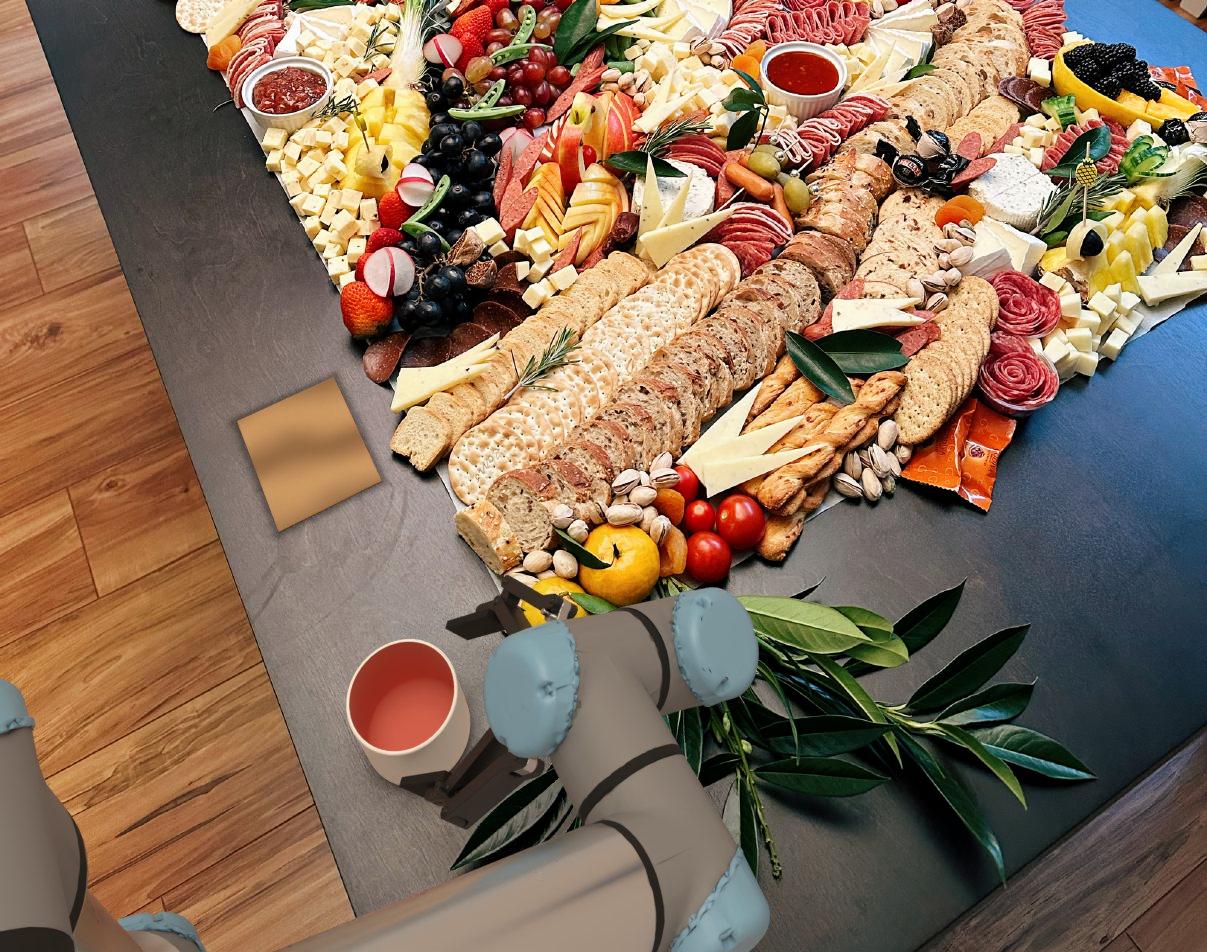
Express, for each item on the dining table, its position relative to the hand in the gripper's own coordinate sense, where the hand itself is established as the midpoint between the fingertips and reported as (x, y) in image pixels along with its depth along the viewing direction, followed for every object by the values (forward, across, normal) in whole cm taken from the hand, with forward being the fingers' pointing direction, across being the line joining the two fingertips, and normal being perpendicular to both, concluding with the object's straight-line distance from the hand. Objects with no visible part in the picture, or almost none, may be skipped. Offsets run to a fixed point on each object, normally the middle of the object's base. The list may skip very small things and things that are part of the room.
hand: (435, 705), depth 103 cm
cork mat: (+24, +27, +12) cm, 38 cm away
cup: (+8, 0, -4) cm, 9 cm away
